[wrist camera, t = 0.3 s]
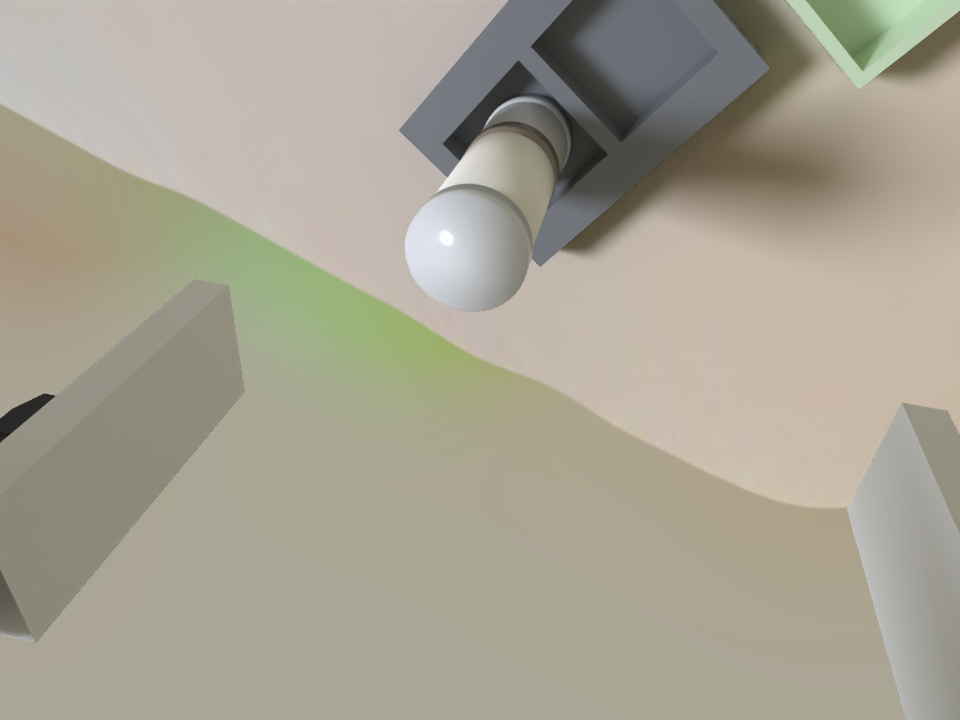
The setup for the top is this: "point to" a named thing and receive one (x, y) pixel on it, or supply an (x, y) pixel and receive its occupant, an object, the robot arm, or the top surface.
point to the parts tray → (871, 30)
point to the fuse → (491, 207)
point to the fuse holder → (593, 91)
